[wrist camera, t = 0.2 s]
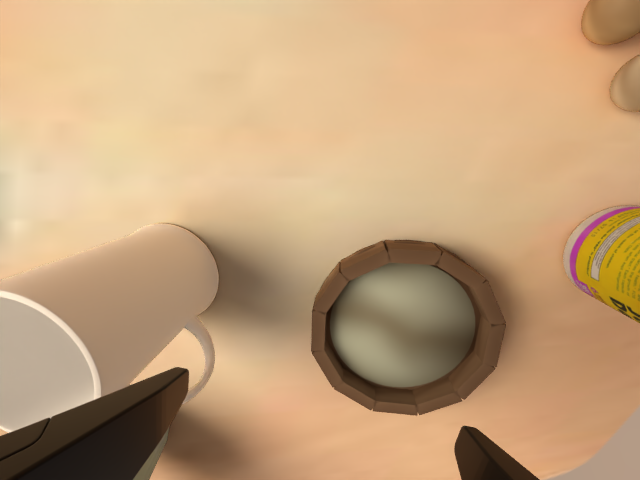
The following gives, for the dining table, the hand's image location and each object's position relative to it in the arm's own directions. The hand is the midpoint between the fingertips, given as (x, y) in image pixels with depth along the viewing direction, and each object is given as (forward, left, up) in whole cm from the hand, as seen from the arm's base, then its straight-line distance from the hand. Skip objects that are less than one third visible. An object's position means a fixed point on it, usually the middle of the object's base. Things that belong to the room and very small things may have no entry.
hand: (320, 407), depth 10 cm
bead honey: (-16, +15, -13) cm, 25 cm away
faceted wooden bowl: (+5, +5, -14) cm, 16 cm away
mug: (+3, -13, -14) cm, 19 cm away
